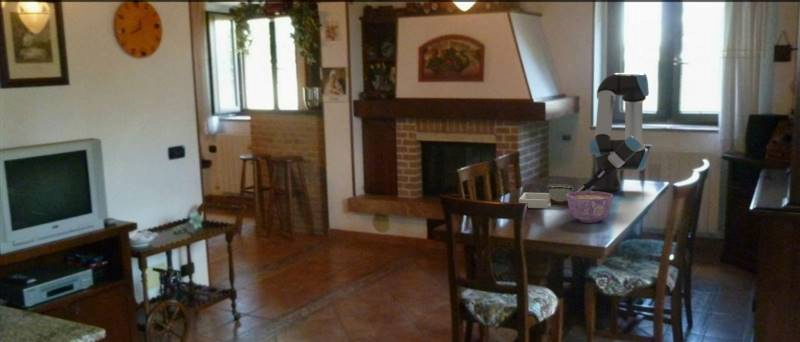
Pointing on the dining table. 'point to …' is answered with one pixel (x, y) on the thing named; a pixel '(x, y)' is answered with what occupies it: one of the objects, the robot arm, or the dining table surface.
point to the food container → (559, 194)
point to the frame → (535, 200)
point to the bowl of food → (589, 205)
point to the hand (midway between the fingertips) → (576, 196)
